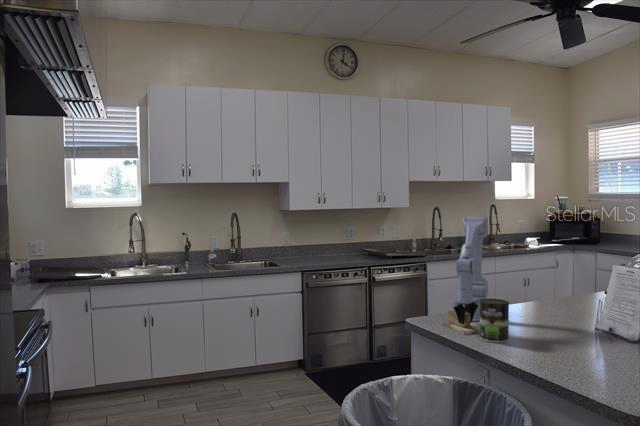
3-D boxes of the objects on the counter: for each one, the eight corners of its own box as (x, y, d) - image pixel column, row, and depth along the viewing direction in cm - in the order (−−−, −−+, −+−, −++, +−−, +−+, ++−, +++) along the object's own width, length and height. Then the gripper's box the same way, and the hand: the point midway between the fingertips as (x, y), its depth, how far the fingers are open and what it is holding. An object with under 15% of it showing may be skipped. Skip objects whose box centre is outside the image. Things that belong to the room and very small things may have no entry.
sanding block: (455, 322, 209) (455, 309, 209) (470, 326, 202) (470, 313, 202) (448, 323, 207) (448, 311, 207) (463, 327, 200) (463, 314, 200)
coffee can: (506, 344, 180) (506, 304, 180) (477, 340, 185) (477, 302, 185) (510, 337, 189) (510, 299, 189) (482, 334, 194) (482, 297, 194)
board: (467, 322, 213) (467, 319, 213) (490, 332, 197) (491, 328, 197) (442, 324, 209) (442, 321, 209) (463, 334, 194) (463, 331, 194)
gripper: (470, 285, 209) (470, 318, 209) (444, 288, 201) (444, 323, 201) (484, 288, 203) (484, 321, 203) (458, 291, 195) (458, 326, 195)
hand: (465, 322), depth 202 cm, fingers closed on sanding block, 4 cm apart
